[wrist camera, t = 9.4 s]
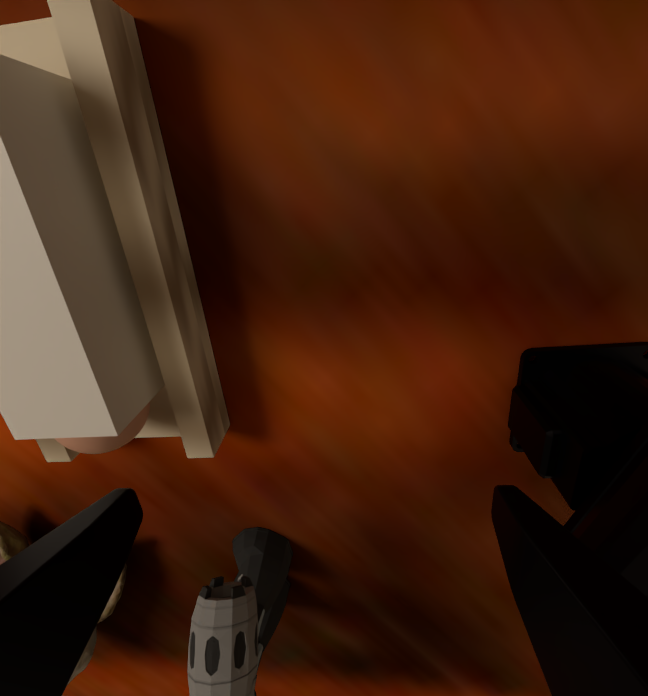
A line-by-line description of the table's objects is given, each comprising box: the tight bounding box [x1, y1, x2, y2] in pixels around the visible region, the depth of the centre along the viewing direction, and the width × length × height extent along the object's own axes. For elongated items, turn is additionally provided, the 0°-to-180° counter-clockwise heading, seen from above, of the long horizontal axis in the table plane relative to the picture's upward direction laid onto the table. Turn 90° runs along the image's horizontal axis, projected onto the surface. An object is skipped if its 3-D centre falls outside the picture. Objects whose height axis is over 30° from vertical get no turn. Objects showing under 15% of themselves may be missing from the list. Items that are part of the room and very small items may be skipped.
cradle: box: [0, 0, 230, 462], centre depth 18 cm, size 20×10×3 cm, turn 5°
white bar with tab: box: [0, 54, 165, 454], centre depth 16 cm, size 17×5×6 cm, turn 5°
